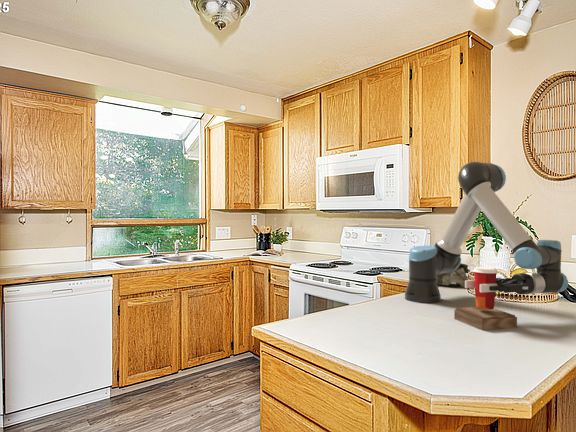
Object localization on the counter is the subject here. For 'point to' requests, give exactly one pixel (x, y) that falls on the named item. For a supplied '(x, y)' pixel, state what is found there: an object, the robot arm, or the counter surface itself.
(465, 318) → the walnut plinth
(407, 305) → the counter surface
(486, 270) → the paper cup
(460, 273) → the hollow geode rock
